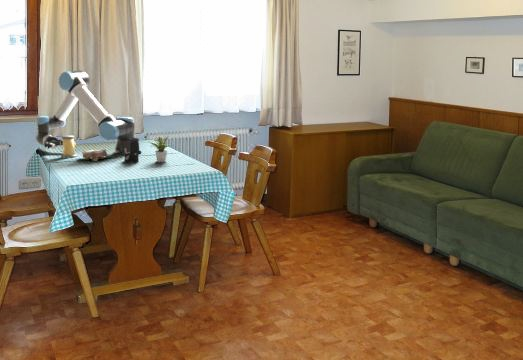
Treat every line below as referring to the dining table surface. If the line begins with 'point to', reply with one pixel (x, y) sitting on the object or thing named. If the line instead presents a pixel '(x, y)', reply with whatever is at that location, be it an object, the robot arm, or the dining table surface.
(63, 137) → the yellow thread spool
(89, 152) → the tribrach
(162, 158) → the house plant
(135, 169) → the dining table surface
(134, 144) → the scope
